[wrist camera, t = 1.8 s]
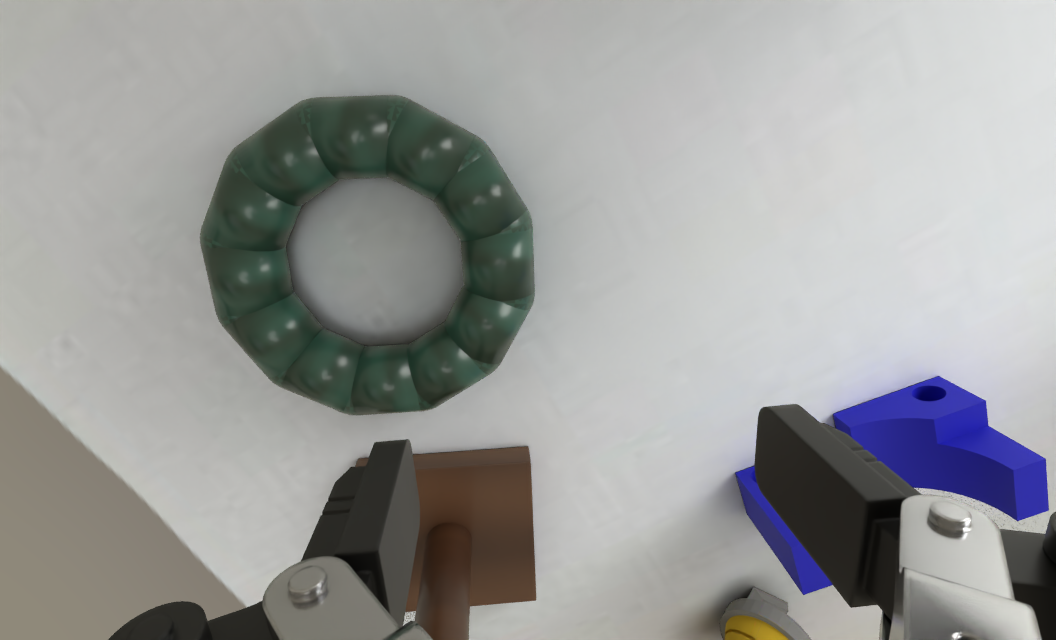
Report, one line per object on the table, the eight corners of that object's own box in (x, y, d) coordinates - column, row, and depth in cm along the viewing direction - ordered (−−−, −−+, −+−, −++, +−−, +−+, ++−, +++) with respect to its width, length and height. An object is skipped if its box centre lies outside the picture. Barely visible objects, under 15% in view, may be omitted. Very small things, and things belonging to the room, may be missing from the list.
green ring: (193, 104, 23) (150, 99, 20) (525, 93, 24) (530, 86, 21) (257, 404, 28) (229, 436, 25) (535, 385, 29) (541, 415, 26)
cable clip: (938, 376, 30) (1044, 431, 24) (947, 443, 32) (1048, 510, 26) (728, 451, 31) (784, 522, 25) (746, 513, 32) (803, 594, 26)
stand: (357, 458, 29) (270, 678, 17) (528, 446, 30) (557, 651, 18) (378, 593, 32) (316, 863, 20) (534, 580, 32) (562, 834, 21)
